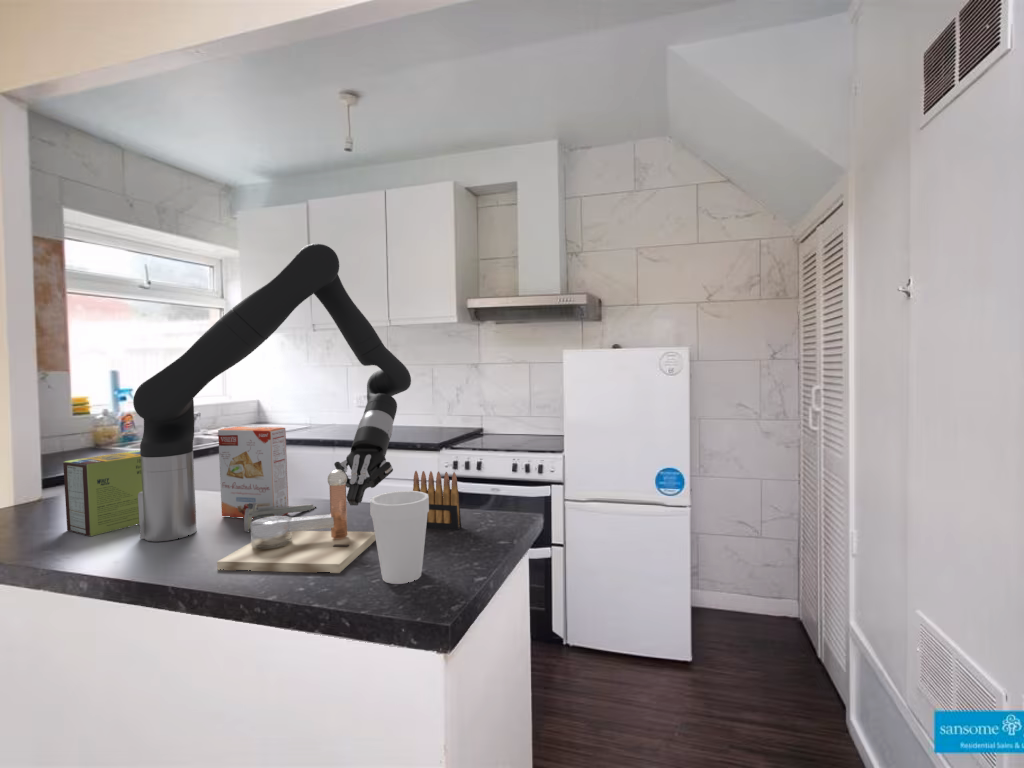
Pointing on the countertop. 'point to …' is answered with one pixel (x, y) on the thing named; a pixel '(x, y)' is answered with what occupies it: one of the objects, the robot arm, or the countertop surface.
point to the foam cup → (400, 533)
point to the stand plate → (302, 553)
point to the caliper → (270, 512)
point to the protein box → (102, 492)
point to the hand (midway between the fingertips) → (352, 503)
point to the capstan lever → (304, 519)
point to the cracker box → (252, 468)
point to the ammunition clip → (440, 501)
